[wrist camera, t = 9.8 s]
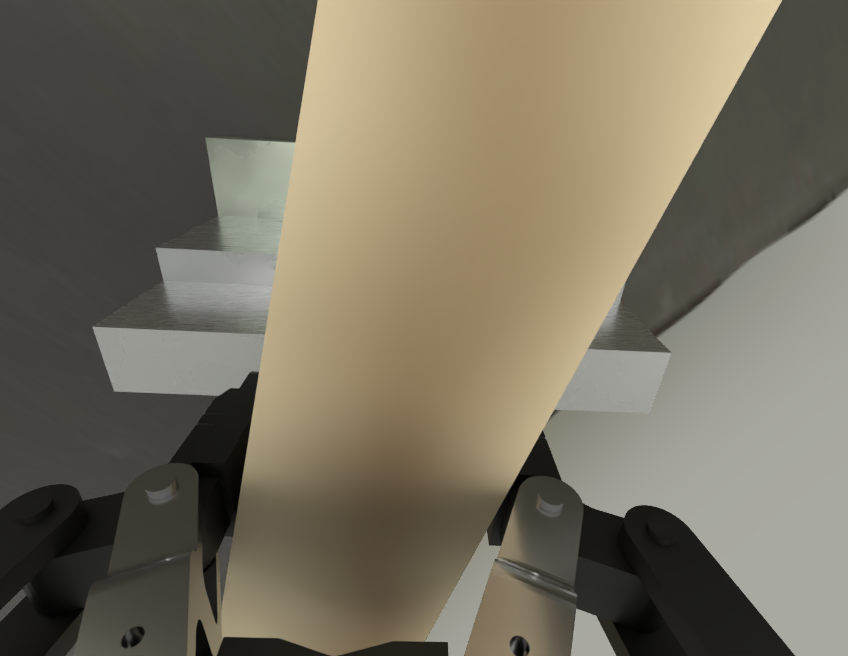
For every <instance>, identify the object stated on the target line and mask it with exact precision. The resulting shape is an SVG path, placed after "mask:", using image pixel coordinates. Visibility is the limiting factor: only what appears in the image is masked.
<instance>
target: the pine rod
mask: <svg viewBox="0 0 848 656" xmlns="http://www.w3.org/2000/svg"><path fill="white" fill-rule="evenodd" d="M781 1H782V0H318V4H317V10H316V16H315V22H314V29H313V35H312V41H311V48H310V54H309V60H308V67H307V73H306V79H305V86H304V92H303V98H302V105H301V111H300V117H299V124H298V130H297V136H296V142H295V149H294V155H293V161H292V168H291V174H290V180H289V187H288V193H287V199H286V206H285V212H284V218H283V225H282V231H281V237H280V243H279V250H278V256H277V262H276V269H275V275H274V281H273V288H272V294H271V300H270V307H269V313H268V319H267V326H266V332H265V338H264V345H263V351H262V357H261V363H260V370H259V376H258V382H257V389H256V395H255V401H254V408H253V414H252V420H251V427H250V433H249V439H248V446H247V452H246V458H245V464H244V471H243V477H242V483H241V490H240V496H239V502H238V509H237V515H236V521H235V528H234V534H233V540H232V547H231V553H230V559H229V566H228V572H227V578H226V584H225V591H224V597H223V603H222V610H221V625H222V640H223V637H252V638H280V639H283V640H286V641H289V642H292V643H295V644H298V645H301V646H303V647H306V648H309V649H312V650H315V651H318V652H321V653H324V654H327V655H330V656H338V655H343V654H346V653H350V652H354V651H358V650H361V649H365V648H369V647H372V646H376V645H380V644H384V643H387V642H391V641H416V642H425V640H426V639H427V637H428V635H429V633H430V631H431V629H432V628H433V626H434V624H435V622H436V620H437V619H438V617H439V615H440V613H441V612H442V610H443V608H444V606H445V604H446V603H447V601H448V599H449V597H450V595H451V593H452V592H453V590H454V588H455V586H456V585H457V583H458V581H459V579H460V577H461V576H462V574H463V572H464V570H465V568H466V567H467V565H468V563H469V561H470V560H471V558H472V556H473V554H474V552H475V550H476V549H477V547H478V545H479V543H480V542H481V540H482V538H483V536H484V534H485V533H486V531H487V529H488V527H489V525H490V524H491V522H492V520H493V518H494V516H495V515H496V513H497V511H498V509H499V507H500V506H501V504H502V502H503V500H504V499H505V497H506V495H507V493H508V491H509V490H510V488H511V486H512V484H513V482H514V481H515V479H516V477H517V475H518V473H519V472H520V470H521V468H522V466H523V464H524V463H525V461H526V459H527V457H528V455H529V454H530V452H531V450H532V448H533V446H534V445H535V443H536V441H537V439H538V437H539V436H540V434H541V432H542V430H543V428H544V427H545V425H546V423H547V421H548V420H549V418H550V416H551V414H552V412H553V411H554V409H555V407H556V405H557V403H558V402H559V400H560V398H561V396H562V394H563V393H564V391H565V389H566V387H567V385H568V384H569V382H570V380H571V378H572V376H573V375H574V373H575V371H576V369H577V367H578V366H579V364H580V362H581V360H582V358H583V357H584V355H585V353H586V351H587V350H588V348H589V346H590V344H591V342H592V341H593V339H594V337H595V335H596V333H597V332H598V330H599V328H600V326H601V324H602V323H603V321H604V319H605V317H606V315H607V314H608V312H609V310H610V308H611V306H612V305H613V303H614V301H615V299H616V297H617V296H618V294H619V292H620V290H621V288H622V287H623V285H624V283H625V281H626V279H627V278H628V276H629V274H630V272H631V271H632V269H633V267H634V265H635V263H636V262H637V260H638V258H639V256H640V254H641V253H642V251H643V249H644V247H645V245H646V244H647V242H648V240H649V238H650V236H651V235H652V233H653V231H654V229H655V227H656V226H657V224H658V222H659V220H660V218H661V217H662V215H663V213H664V211H665V209H666V208H667V206H668V204H669V202H670V200H671V199H672V197H673V195H674V193H675V192H676V190H677V188H678V186H679V184H680V183H681V181H682V179H683V177H684V175H685V174H686V172H687V170H688V168H689V166H690V165H691V163H692V161H693V159H694V157H695V156H696V154H697V152H698V150H699V148H700V147H701V145H702V143H703V141H704V139H705V138H706V136H707V134H708V132H709V130H710V129H711V127H712V125H713V123H714V122H715V120H716V118H717V116H718V114H719V113H720V111H721V109H722V107H723V105H724V104H725V102H726V100H727V98H728V96H729V95H730V93H731V91H732V89H733V87H734V86H735V84H736V82H737V80H738V78H739V77H740V75H741V73H742V71H743V69H744V68H745V66H746V64H747V62H748V60H749V59H750V57H751V55H752V53H753V51H754V50H755V48H756V46H757V44H758V43H759V41H760V39H761V37H762V35H763V34H764V32H765V30H766V28H767V26H768V25H769V23H770V21H771V19H772V17H773V16H774V14H775V12H776V10H777V8H778V7H779V5H780V3H781Z"/></svg>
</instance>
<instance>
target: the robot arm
mask: <svg viewBox="0 0 848 656" xmlns="http://www.w3.org/2000/svg"><path fill="white" fill-rule="evenodd" d="M258 376H259V371H251V372H250V373H249V374H248V376H247V377H246V379H245V380H244V382H243V383H242V385H241V386H240V388H230V389H228V390H227V391H225V392H224V393H222V394H221V395H220V396H218V397H217V398H215V399H214V401H213V402H212V403H211V405H210V406H209V408H208V409H207V410H206V413H205V414H204V415H203V416H202V417H201V419H200V420H199V422H198V425H196V426H195V427H194V429H193V430H192V431H191V433H190V434H189V436H188V437H187V438H186V440H185V441H184V442H183V444H182V445H181V447H180V448H179V449H178V451H177V452H176V454H175V455H174V456H173V458H172V459H171V461H170V462H169V463H168V464H164V465H161V466H158V467H155V468H152V469H150V470H148V471H146V472H145V473H143V474H141V475H140V476H139V477H137V478H136V479H135V480H134V481H133V482H132V483H131V484H130V485H129V486H128V488H127V489H126V491H125V492H122V493H118V494H113V495H109V496H104V497H99V498H94V499H89V500H84V501H82V498H81V496H80V494H79V491H78V490H77V489H76V488H74V487H73V486H70V485H64V484H57V485H49V486H45V487H41V488H38V489H35V490H32V491H30V492H28V493H26V494H24V495H22V496H20V497H18V498H16V499H15V500H13V501H11V502H10V503H9V504H7V505H6V506H4V507H3V508H2V509H1V510H0V610H1V609H2V608H3V607H4V606H5V605H6V604H7V603H8V602H9V601H10V600H11V599H12V598H13V597H14V596H15V595H16V594H17V593H18V592H19V591H20V590H21V589H23V590H24V592H25V593H26V595H27V596H26V597H25V598H24V599H23V600H22V601H21V602H20V603H19V604H18V605H17V606H16V607H15V608H14V609H13V610H12V611H11V612H10V613H9V614H8V615H7V616H6V617H5V618H4V619H3V620H2V621H1V622H0V656H65V655H66V654H67V653H68V652H69V650H70V649H71V648H72V647H73V645H74V644H75V643H76V647H75V651H74V655H73V656H330V655H327V654H324V653H321V652H318V651H315V650H312V649H309V648H306V647H303V646H301V645H298V644H295V643H292V642H289V641H286V640H283V639H280V638H252V637H223V640H222V625H221V593H220V562H219V554H218V549H219V547H220V544H221V542H222V540H223V538H224V536H233V534H234V528H235V521H236V515H237V509H238V502H239V496H240V490H241V483H242V477H243V471H244V464H245V458H246V452H247V446H248V439H249V433H250V427H251V420H252V414H253V408H254V401H255V395H256V389H257V382H258ZM487 533H488V540H489V545H496V546H501V548H500V551H499V554H498V557H497V559H495V561H494V563H493V566H492V569H491V572H490V576H489V579H488V582H487V585H486V588H485V591H484V594H483V597H482V601H481V604H480V607H479V610H478V613H477V616H476V620H475V623H474V626H473V629H472V632H471V635H470V638H469V641H468V645H467V648H466V651H465V655H464V656H571V648H572V639H573V631H574V621H575V613H576V608H577V609H580V610H583V611H585V612H588V613H591V614H593V615H596V616H597V618H598V620H599V622H600V624H601V626H602V628H603V630H604V632H605V634H606V636H607V638H608V640H609V642H610V644H611V646H612V648H613V650H614V652H615V654H616V656H795V655H794V654H793V653H792V652H791V650H790V649H789V648H788V647H787V645H786V644H785V643H784V642H783V641H782V639H781V638H780V637H779V636H778V635H777V633H776V632H775V631H774V630H773V629H772V627H771V626H770V625H769V624H768V623H767V621H766V620H765V619H764V618H763V616H762V615H761V614H760V613H759V612H758V611H757V609H756V608H755V607H754V606H753V604H752V603H751V602H750V601H749V600H748V599H747V597H746V596H745V595H744V593H743V592H742V591H741V590H740V589H739V587H738V586H737V585H736V584H735V583H734V581H733V580H732V579H731V578H730V577H729V575H728V574H727V573H726V572H725V571H724V569H723V568H722V567H721V566H720V564H719V563H718V562H717V561H716V560H715V558H714V557H713V556H712V555H711V554H710V552H709V551H708V550H707V549H706V548H705V546H704V545H703V544H702V543H701V541H700V540H699V539H698V538H697V537H696V535H695V534H694V533H693V532H692V531H691V530H690V528H689V527H688V526H687V525H686V524H685V523H684V522H682V521H681V520H680V519H679V518H677V517H676V516H674V515H673V514H671V513H669V512H667V511H665V510H663V509H660V508H657V507H653V506H647V505H642V506H635V507H633V508H631V509H630V510H628V512H627V513H626V515H625V518H622V517H619V516H615V515H613V514H609V513H606V512H603V511H599V510H596V509H594V508H591V507H589V506H587V505H585V504H583V503H582V500H581V498H580V497H579V495H578V494H577V493H576V491H575V490H574V489H573V488H572V487H570V486H569V485H568V484H566V483H565V482H563V481H562V480H561V477H560V475H559V472H558V470H557V467H556V464H555V462H554V459H553V457H552V454H551V451H550V448H549V446H548V443H547V441H546V439H545V435H544V432H543V430H542V432H541V434H540V436H539V437H538V439H537V441H536V443H535V445H534V446H533V448H532V450H531V452H530V454H529V455H528V457H527V459H526V461H525V463H524V464H523V466H522V468H521V470H520V472H519V473H518V475H517V477H516V479H515V481H514V482H513V484H512V486H511V488H510V490H509V491H508V493H507V495H506V497H505V499H504V500H503V502H502V504H501V506H500V507H499V509H498V511H497V513H496V515H495V516H494V518H493V520H492V522H491V524H490V525H489V527H488V529H487ZM338 656H448V642H416V641H391V642H387V643H384V644H380V645H376V646H372V647H369V648H365V649H361V650H358V651H354V652H350V653H346V654H343V655H338Z"/></svg>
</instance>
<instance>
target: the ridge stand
mask: <svg viewBox="0 0 848 656" xmlns="http://www.w3.org/2000/svg"><path fill="white" fill-rule="evenodd" d="M295 142H296V140H284V139H267V138H249V137H231V136H214V137H206V144H207V150H208V156H209V163H210V169H211V175H212V181H213V187H214V193H215V199H216V205H217V211H218V216H216V217H215V218H213V219H211V220H209V221H207V222H205V223H203V224H201V225H199V226H197V227H195V228H193V229H191V230H189V231H187V232H185V233H183V234H181V235H180V236H178V237H176V238H174V239H172V240H170V241H168V242H166V243H164V244H162V245H160V246H158V247H156V252H157V256H158V260H159V264H160V268H161V272H162V277H163V281H162V282H160V283H159V284H157V285H156V286H154V287H152V288H151V289H149V290H148V291H146V292H145V293H143V294H142V295H140V296H139V297H137V298H136V299H134V300H133V301H131V302H130V303H128V304H127V305H125V306H123V307H122V308H120V309H119V310H117V311H116V312H114V313H113V314H111V315H110V316H108V317H107V318H105V319H104V320H102V321H101V322H99V323H97V324H96V325H94V326H93V330H94V333H95V336H96V339H97V342H98V345H99V348H100V351H101V354H102V357H103V360H104V363H105V366H106V368H107V371H108V374H109V377H110V380H111V383H112V386H113V389H114V391H118V392H142V393H167V394H191V395H215V396H220V395H221V394H222V393H224V392H225V391H227V390H228V389H230V388H240V386H241V385H242V383H243V382H244V380H245V379H246V377H247V376H248V374H249V373H250V372H251V371H259V370H260V363H261V357H262V351H263V345H264V338H265V332H266V326H267V319H268V313H269V307H270V300H271V294H272V288H273V281H274V275H275V269H276V262H277V256H278V250H279V243H280V237H281V231H282V225H283V218H284V212H285V206H286V199H287V193H288V187H289V180H290V174H291V168H292V161H293V155H294V149H295ZM625 282H626V281H625ZM624 286H625V283H624V285H623V287H622V288H621V290H620V292H619V294H618V296H617V297H616V299H615V301H614V303H613V305H612V306H611V308H610V310H609V312H608V314H607V315H606V317H605V319H604V321H603V323H602V324H601V326H600V328H599V330H598V332H597V333H596V335H595V337H594V339H593V341H592V342H591V344H590V346H589V348H588V350H587V351H586V353H585V355H584V357H583V358H582V360H581V362H580V364H579V366H578V367H577V369H576V371H575V373H574V375H573V376H572V378H571V380H570V382H569V384H568V385H567V387H566V389H565V391H564V393H563V394H562V396H561V398H560V400H559V402H558V403H557V405H556V407H555V409H554V410H579V411H602V412H603V411H604V412H628V413H650V410H651V408H652V405H653V402H654V400H655V397H656V394H657V392H658V389H659V386H660V383H661V380H662V378H663V375H664V372H665V370H666V367H667V364H668V362H669V359H670V356H671V352H670V351H669V350H668V349H667V348H666V347H665V346H664V345H663V344H662V343H661V342H660V341H659V340H658V339H657V338H656V337H655V336H654V335H653V334H652V333H651V332H650V331H649V330H648V329H647V328H646V327H645V326H644V325H643V324H642V323H641V322H640V321H639V320H638V319H636V318H635V317H634V316H633V315H632V314H631V313H630V312H629V311H628V310H627V309H626V308H625V307H624V306H623V305H622V304H621V303H620V300H621V296H622V293H623V289H624Z"/></svg>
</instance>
